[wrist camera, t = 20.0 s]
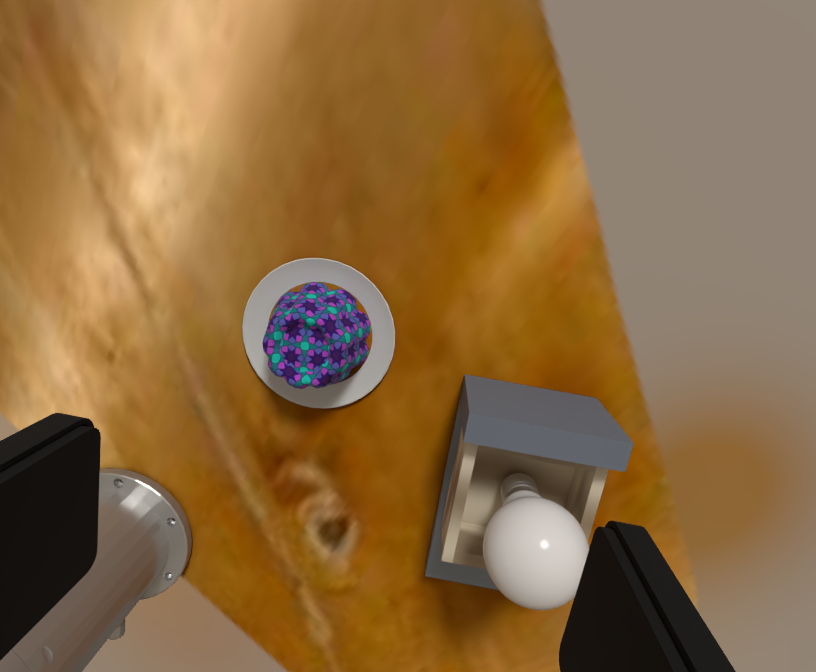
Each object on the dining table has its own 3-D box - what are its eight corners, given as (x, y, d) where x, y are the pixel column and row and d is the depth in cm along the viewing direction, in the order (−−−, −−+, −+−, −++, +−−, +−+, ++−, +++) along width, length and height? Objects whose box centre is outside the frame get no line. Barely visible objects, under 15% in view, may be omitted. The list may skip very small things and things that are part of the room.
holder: (560, 544, 41) (574, 586, 36) (441, 522, 41) (441, 560, 37) (591, 430, 39) (611, 460, 34) (465, 407, 39) (468, 433, 34)
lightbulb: (499, 534, 40) (519, 651, 29) (460, 468, 39) (466, 566, 28) (574, 500, 39) (623, 610, 28) (536, 432, 38) (573, 519, 27)
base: (545, 587, 44) (566, 667, 36) (425, 564, 44) (421, 638, 37) (597, 398, 40) (633, 443, 32) (464, 374, 40) (469, 413, 32)
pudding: (248, 248, 39) (219, 253, 34) (403, 266, 39) (397, 274, 34) (243, 395, 42) (216, 420, 37) (388, 413, 42) (380, 441, 37)
